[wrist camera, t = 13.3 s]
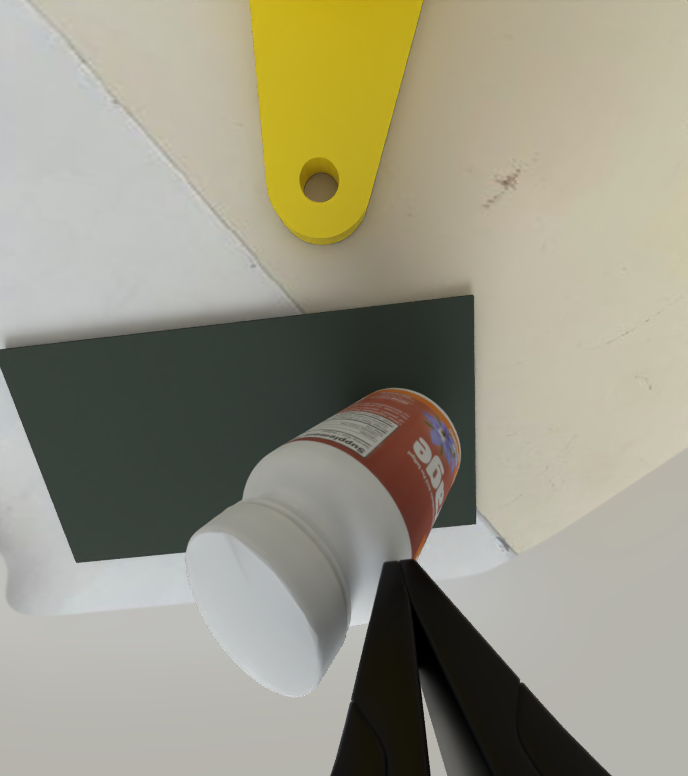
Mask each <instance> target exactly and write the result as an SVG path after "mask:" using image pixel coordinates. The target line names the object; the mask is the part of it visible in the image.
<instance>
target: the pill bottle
mask: <svg viewBox="0 0 688 776" xmlns="http://www.w3.org/2000/svg"><path fill="white" fill-rule="evenodd" d="M460 460H461V448H460V442H459V438H458V435H457V432H456V430H455V428H454V426H453V424H452V422H451V420H450V419H449V417H448V416H447V415H446V413H445V412H444V411H443V410H442V409H441V408H440V407H439V406H438V405H437V404H436V403H435V402H433V401H432V400H431V399H429V398H428V397H426V396H424V395H422V394H420V393H418V392H415V391H412V390H408V389H402V388H387V389H382V390H378V391H375V392H373V393H371V394H369V395H367V396H366V397H364V398H362V399H360V400H359V401H357V402H355V403H354V404H352V405H350V406H349V407H347V408H345V409H343V410H342V411H340V412H338V413H337V414H335V415H333V416H332V417H330V418H328V419H327V420H325V421H323V422H321V423H320V424H318V425H316V426H315V427H313V428H311V429H310V430H308V431H306V432H304V433H303V434H301V435H299V436H297V437H296V438H294V439H292V440H290V441H289V442H287V443H285V444H283V445H282V446H280V447H279V448H277V449H276V450H274V451H272V452H271V453H269V454H268V455H266V456H265V457H264V458H263V459H262V460H261V461H260V462H259V463H258V464H257V465H256V466H255V468H254V469H253V471H252V472H251V474H250V476H249V478H248V480H247V482H246V486H245V489H244V493H243V498H242V500H241V501H239V502H237V503H236V504H235V505H233V506H230V507H228V508H227V509H225V510H224V511H223V512H222V513H221V514H219V515H218V516H216V517H215V518H214V519H212V520H211V521H210V522H208V523H207V524H206V525H204V526H203V527H202V528H200V529H199V530H198V531H196V532H195V534H194V535H193V536H192V537H191V539H190V541H189V543H188V546H187V550H186V559H185V561H186V572H187V577H188V582H189V585H190V588H191V591H192V594H193V597H194V599H195V602H196V604H197V606H198V609H199V611H200V613H201V615H202V617H203V619H204V621H205V622H206V624H207V626H208V627H209V629H210V631H211V632H212V634H213V635H214V637H215V638H216V639H217V641H218V643H219V644H220V645H221V646H222V648H223V649H224V650H225V651H226V652H227V654H228V655H229V656H230V657H231V658H232V659H233V660H234V661H235V662H236V664H238V666H239V667H240V668H241V669H242V670H243V671H245V672H246V673H247V674H248V675H249V676H250V677H251V678H253V679H254V680H255V681H257V682H258V683H260V684H261V685H263V686H264V687H266V688H267V689H269V690H271V691H273V692H276V693H278V694H281V695H285V696H289V697H300V696H304V695H306V694H308V693H310V692H312V691H313V689H315V688H316V687H317V686H318V684H319V683H320V681H321V680H322V678H323V676H324V675H325V673H326V671H327V670H328V668H329V666H330V665H331V663H332V661H333V660H334V658H335V656H336V655H337V653H338V652H339V650H340V648H341V647H342V645H343V643H344V640H345V638H346V633H347V630H348V628H349V626H356V625H362V624H365V623H369V621H370V617H371V612H372V608H373V604H374V600H375V595H376V591H377V587H378V583H379V578H380V574H381V570H382V566H383V563H384V562H386V561H395V560H397V561H400V560H403V559H414V560H415V561H417V559H418V557H419V555H420V553H421V550H422V548H423V546H424V544H425V542H426V540H427V538H428V535H429V533H430V531H431V529H432V527H433V525H434V523H435V520H436V518H437V516H438V514H439V512H440V510H441V508H442V506H443V503H444V501H445V499H446V497H447V495H448V493H449V491H450V488H451V486H452V484H453V482H454V480H455V477H456V475H457V472H458V469H459V466H460Z"/></svg>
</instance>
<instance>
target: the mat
mask: <svg viewBox="0 0 688 776" xmlns="http://www.w3.org/2000/svg"><path fill="white" fill-rule="evenodd" d="M0 368H1V370H2V373H3V375H4V378H5V380H6V383H7V386H8V388H9V391H10V393H11V396H12V399H13V401H14V404H15V406H16V409H17V411H18V414H19V417H20V419H21V422H22V424H23V427H24V430H25V432H26V435H27V437H28V440H29V442H30V445H31V448H32V450H33V453H34V455H35V458H36V460H37V463H38V466H39V468H40V471H41V473H42V476H43V479H44V481H45V484H46V486H47V489H48V491H49V494H50V497H51V499H52V502H53V504H54V507H55V509H56V512H57V515H58V517H59V520H60V522H61V525H62V528H63V530H64V533H65V535H66V538H67V540H68V543H69V546H70V548H71V551H72V553H73V556H74V559H75V561H76V563H80V562H90V561H101V560H111V559H121V558H132V557H142V556H152V555H163V554H173V553H183V552H186V550H187V546H188V543H189V541H190V539H191V537H192V536H193V535H194V534H195V532H196V531H198V530H199V529H200V528H202V527H203V526H204V525H206V524H207V523H208V522H210V521H211V520H212V519H214V518H215V517H216V516H218V515H219V514H221V513H222V512H223V511H224V510H225V509H227V508H228V507H230V506H233V505H235V504H236V503H237V502H239V501H241V500H242V498H243V493H244V489H245V486H246V482H247V480H248V478H249V476H250V474H251V472H252V471H253V469H254V468H255V466H256V465H257V464H258V463H259V462H260V461H261V460H262V459H263V458H264V457H265V456H266V455H268V454H269V453H271V452H272V451H274V450H276V449H277V448H279V447H280V446H282V445H283V444H285V443H287V442H289V441H290V440H292V439H294V438H296V437H297V436H299V435H301V434H303V433H304V432H306V431H308V430H310V429H311V428H313V427H315V426H316V425H318V424H320V423H321V422H323V421H325V420H327V419H328V418H330V417H332V416H333V415H335V414H337V413H338V412H340V411H342V410H343V409H345V408H347V407H349V406H350V405H352V404H354V403H355V402H357V401H359V400H360V399H362V398H364V397H366V396H367V395H369V394H371V393H373V392H375V391H378V390H382V389H387V388H402V389H408V390H412V391H415V392H418V393H420V394H422V395H424V396H426V397H428V398H429V399H431V400H432V401H433V402H435V403H436V404H437V405H438V406H439V407H440V408H441V409H442V410H443V411H444V412H445V413H446V415H447V416H448V417H449V419H450V420H451V422H452V424H453V426H454V428H455V430H456V432H457V435H458V438H459V442H460V448H461V460H460V466H459V469H458V472H457V475H456V477H455V480H454V482H453V484H452V486H451V488H450V491H449V493H448V495H447V497H446V499H445V501H444V503H443V506H442V508H441V510H440V512H439V514H438V516H437V518H436V520H435V523H434V525H433V527H432V528H441V527H451V526H461V525H472V524H476V473H475V377H474V296H473V295H467V296H458V297H450V298H441V299H432V300H424V301H415V302H406V303H398V304H389V305H381V306H372V307H363V308H355V309H346V310H337V311H329V312H320V313H311V314H303V315H294V316H286V317H277V318H268V319H260V320H251V321H242V322H234V323H225V324H216V325H208V326H199V327H190V328H182V329H173V330H165V331H156V332H147V333H139V334H130V335H121V336H113V337H104V338H95V339H87V340H78V341H69V342H61V343H52V344H44V345H35V346H26V347H18V348H9V349H1V350H0Z"/></svg>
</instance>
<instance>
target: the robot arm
mask: <svg viewBox="0 0 688 776" xmlns="http://www.w3.org/2000/svg"><path fill="white" fill-rule="evenodd" d="M420 684H421V685H420ZM421 687H422V691H423V694H424V698H425V701H426V704H427V708H428V711H429V715H430V718H431V721H432V725H433V728H434V731H435V735H436V738H437V742H438V745H439V748H440V752H441V755H442V758H443V762H444V765H445V769H446V772H447V775H448V776H611V775H610V774H609V773H608V772H607V771H606V770H605V769H604V768H603V767H602V766H601V765H600V764H599V763H598V762H597V761H596V760H595V759H594V758H593V757H592V756H591V755H590V754H589V753H588V752H587V751H586V750H585V749H584V748H583V747H582V746H581V745H580V744H579V743H578V742H577V741H576V740H575V739H574V738H573V737H572V736H571V735H570V734H569V733H568V732H567V731H566V730H565V729H564V728H563V727H562V725H561V724H560V723H559V722H558V721H557V720H556V719H555V718H554V717H553V715H551V713H550V712H549V711H548V710H547V709H546V708H545V707H544V706H543V705H542V703H541V702H540V701H538V699H537V698H536V697H535V696H534V694H533V693H532V692H531V691H530V690H529V689H528V687H527V686H526V685H525V684H524V683H520V679H519V677H518V676H517V675H516V674H515V673H514V672H513V671H512V670H511V668H510V667H509V666H508V665H507V664H506V663H505V662H504V661H503V659H502V658H501V657H500V656H499V655H498V654H497V653H496V651H495V650H494V649H493V648H492V647H491V646H490V645H489V643H488V642H487V641H486V640H485V639H484V638H483V637H482V635H481V634H480V633H479V632H478V631H477V630H476V629H475V628H474V626H473V625H472V624H471V623H470V622H469V621H468V620H467V618H466V617H465V616H464V615H463V614H462V613H461V612H460V611H459V609H458V608H457V607H456V606H455V605H454V604H453V603H452V601H451V600H450V599H449V598H448V597H447V596H446V595H445V593H444V592H443V591H442V590H441V589H440V588H439V587H438V585H437V584H436V583H435V582H434V581H433V580H432V579H431V578H430V576H429V575H428V574H427V573H426V572H425V571H424V570H423V568H422V567H421V566H420V565H419V564H418V563H417V562H416V561H415V560H414V559H403V560H400V561H397V560H395V561H386V562H384V563H383V566H382V570H381V574H380V578H379V583H378V587H377V591H376V595H375V600H374V604H373V608H372V612H371V617H370V621H369V626H368V630H367V634H366V638H365V642H364V646H363V651H362V655H361V660H360V663H359V668H358V672H357V676H356V680H355V685H354V689H353V693H352V698H351V700H352V702H350V705H349V709H348V714H347V718H346V722H345V726H344V730H343V734H342V737H341V741H340V745H339V749H338V753H337V756H336V760H335V763H334V766H333V769H332V772H331V776H431V775H430V765H429V756H428V748H427V739H426V729H425V721H424V712H423V703H422V694H421Z"/></svg>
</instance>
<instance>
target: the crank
mask: <svg viewBox="0 0 688 776" xmlns="http://www.w3.org/2000/svg"><path fill="white" fill-rule="evenodd" d="M423 1H424V0H250V10H251V21H252V32H253V43H254V54H255V65H256V76H257V87H258V97H259V108H260V119H261V130H262V141H263V152H264V163H265V174H266V184H267V191H268V195H269V199H270V201H271V204H272V206H273V208H274V210H275V211H276V213H277V214H278V216H279V217H280V219H281V220H282V221H283V223H284V224H285V226H286V227H287V228H288V229H289V230H290V231H291V232H292V233H293V234H294V235H296V236H297V237H298V238H300V239H302V240H304V241H306V242H309V243H312V244H318V245H327V244H333V243H336V242H339V241H341V240H343V239H345V238H347V237H348V236H349V235H351V234H352V233H353V232H354V231H355V230H356V229H357V227H358V226H359V225H360V223H361V222H362V220H363V218H364V216H365V214H366V211H367V207H368V203H369V200H370V196H371V192H372V189H373V185H374V181H375V178H376V174H377V170H378V167H379V163H380V159H381V155H382V152H383V148H384V144H385V141H386V137H387V133H388V130H389V126H390V122H391V119H392V115H393V111H394V108H395V104H396V100H397V96H398V93H399V89H400V85H401V82H402V78H403V74H404V71H405V67H406V63H407V60H408V56H409V52H410V49H411V45H412V41H413V37H414V34H415V30H416V26H417V23H418V19H419V15H420V12H421V8H422V4H423ZM316 173H327V174H329V175H331V176H332V177H333V178H334V179H335V180H336V182H337V183H338V186H339V187H338V190H337V192H336V194H335V195H334V196H333V197H332V198H331V199H330V200H328V201H326V202H320V203H319V202H314V201H311V200H310V199H308V198H307V197H306V196H305V195H304V187H305V184H306V182H307V180H308V179H309V178H310V177H311V176H312V175H314V174H316Z"/></svg>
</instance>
